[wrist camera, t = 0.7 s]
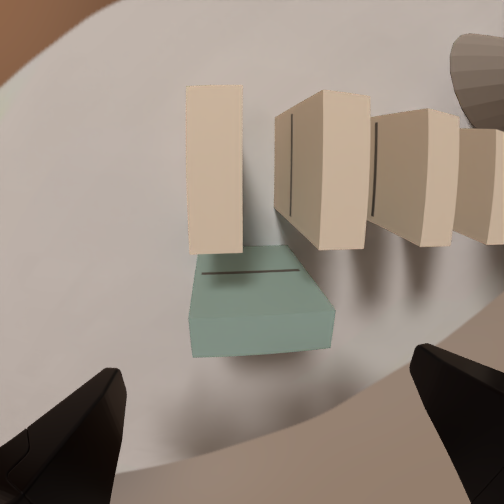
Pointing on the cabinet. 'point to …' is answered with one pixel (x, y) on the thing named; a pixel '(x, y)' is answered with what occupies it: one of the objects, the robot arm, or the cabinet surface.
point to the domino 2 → (257, 305)
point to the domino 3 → (324, 168)
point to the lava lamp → (479, 79)
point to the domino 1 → (214, 168)
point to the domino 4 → (414, 175)
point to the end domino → (480, 186)
